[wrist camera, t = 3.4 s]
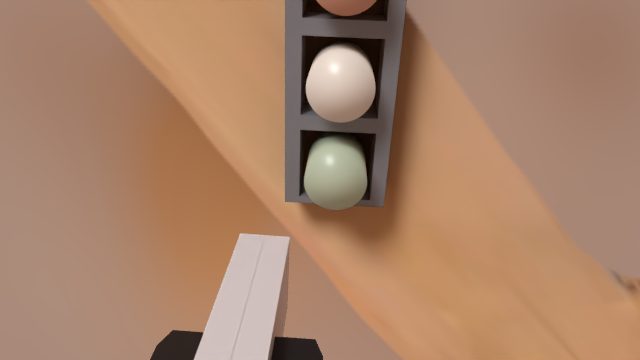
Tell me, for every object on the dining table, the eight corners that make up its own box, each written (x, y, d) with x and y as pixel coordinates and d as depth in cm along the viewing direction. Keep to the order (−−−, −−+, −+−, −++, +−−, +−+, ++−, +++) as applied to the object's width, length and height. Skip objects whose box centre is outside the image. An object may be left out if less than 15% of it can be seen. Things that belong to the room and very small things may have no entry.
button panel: (291, -87, 27) (285, -91, 25) (409, -83, 27) (416, -86, 24) (289, 182, 35) (285, 201, 33) (380, 187, 35) (383, 207, 32)
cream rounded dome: (311, 40, 29) (306, 52, 25) (374, 42, 29) (378, 55, 25) (310, 101, 31) (305, 120, 27) (369, 104, 31) (372, 124, 27)
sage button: (309, 129, 32) (304, 151, 28) (367, 132, 32) (369, 155, 28) (308, 181, 33) (303, 208, 30) (362, 184, 33) (364, 211, 30)
